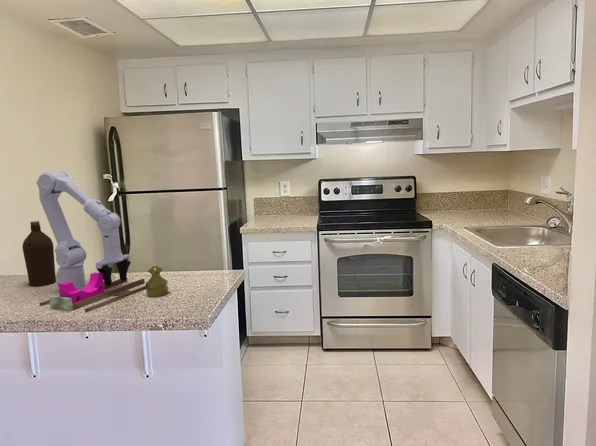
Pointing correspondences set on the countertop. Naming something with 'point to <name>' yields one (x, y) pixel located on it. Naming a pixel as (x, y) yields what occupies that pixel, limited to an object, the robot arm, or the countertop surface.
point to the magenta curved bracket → (91, 289)
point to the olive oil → (39, 257)
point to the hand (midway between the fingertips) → (116, 282)
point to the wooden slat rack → (66, 303)
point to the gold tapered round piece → (156, 283)
